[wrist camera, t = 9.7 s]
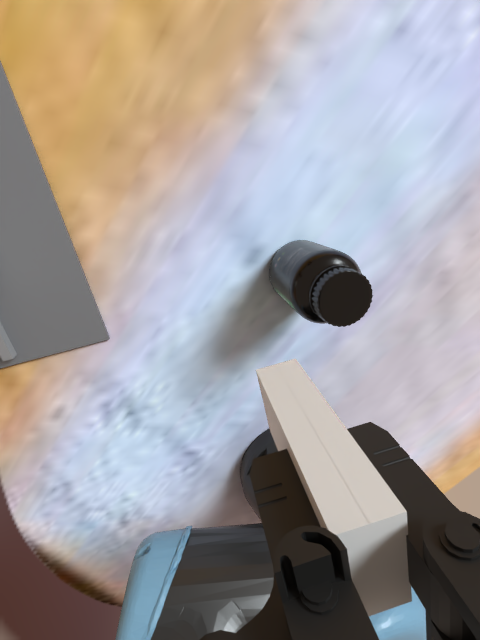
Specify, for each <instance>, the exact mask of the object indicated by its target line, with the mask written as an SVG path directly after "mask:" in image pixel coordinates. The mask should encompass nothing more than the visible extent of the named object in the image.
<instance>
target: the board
mask: <svg viewBox="0 0 480 640" xmlns="http://www.w3.org/2000/svg"><path fill="white" fill-rule="evenodd" d="M109 338H110V337H109V335H108V332H107V330H106V327H105V325H104V322H103V320H102V317H101V315H100V312H99V310H98V307H97V304H96V302H95V299H94V297H93V294H92V292H91V289H90V287H89V284H88V282H87V279H86V277H85V274H84V272H83V269H82V267H81V264H80V261H79V259H78V256H77V254H76V251H75V249H74V246H73V244H72V241H71V239H70V236H69V234H68V231H67V229H66V226H65V223H64V221H63V218H62V216H61V213H60V211H59V208H58V206H57V203H56V201H55V198H54V196H53V193H52V191H51V188H50V186H49V183H48V180H47V178H46V175H45V173H44V170H43V168H42V165H41V163H40V160H39V158H38V155H37V153H36V150H35V148H34V145H33V142H32V140H31V137H30V135H29V132H28V130H27V127H26V125H25V122H24V120H23V117H22V115H21V112H20V110H19V107H18V105H17V102H16V99H15V97H14V94H13V92H12V89H11V87H10V84H9V82H8V79H7V77H6V74H5V72H4V69H3V67H2V64H1V61H0V368H4V367H7V366H11V365H15V364H19V363H22V362H26V361H30V360H34V359H37V358H41V357H45V356H49V355H52V354H56V353H60V352H64V351H67V350H71V349H75V348H79V347H82V346H86V345H90V344H94V343H97V342H101V341H105V340H109Z"/></svg>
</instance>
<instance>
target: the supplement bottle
mask: <svg viewBox="0 0 480 640" xmlns="http://www.w3.org/2000/svg"><path fill="white" fill-rule="evenodd" d="M269 274H270V281H271V284H272V286H273V288H274V289H275V291H276V292H277V293H278V294H279V295H280V296H281V297H282V298H283V299H284V300H285V301H286V302H287V303H288V304H289V305H290V306H291V307H292V308H293V309H294V310H295V311H296V312H297V313H299V314H300V315H301V316H302V317H303V318H305V319H307V320H309V321H311V322H314V323H320V324H324V323H328V324H332V325H333V326H338V327H340V326H344V327H345V326H347V325H351V324H353V323H355V322H356V321H358V320H360V318H361V317H363V316H364V314H365V313H366V312H367V311H368V308H369V307H370V303H371V302H372V289H371V285H370V284H369V280H367V279H366V277H365V276H364V275H362V274H361V271H360V269H359V267H358V265H357V263H356V262H355V261H354V260H353V259H352V258H351V257H350V256H348V255H347V254H345V253H343V252H340V251H338V250H335V249H332V248H329V247H326V246H323V245H320V244H317V243H314V242H310V241H306V240H297V241H293V242H290V243H288V244H286V245H284V246H283V247H282V248H281V249H279V250H278V252H277V253H276V254H275V256H274V257H273V259H272V262H271V265H270V271H269Z"/></svg>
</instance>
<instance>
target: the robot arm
mask: <svg viewBox="0 0 480 640" xmlns="http://www.w3.org/2000/svg"><path fill="white" fill-rule="evenodd" d="M256 372H257V377H258V381H259V385H260V390H261V394H262V398H263V402H264V407H265V411H266V415H267V420H268V424H269V428H270V429H268V430H267V431H265V432H264V433H263V434H261V435H260V436H259V437H258V438H257V439H256V440H255V441H254V442H253V443H252V444H251V445H250V447H249V448H248V450H247V451H246V453H245V455H244V457H243V460H242V463H241V469H240V476H241V482H242V486H243V490H244V494H245V496H246V499H247V501H248V502H249V504H250V505H251V507H252V508H253V510H254V511H255V513H256V514H257V515H258V517H259V518H260V520H261V521H262V523H259V524H247V525H235V526H222V527H210V528H194V529H192V526H187V527H186V528H185V529H179V530H172V531H164V532H157V533H154V534H151V535H149V536H148V537H147V538H145V539H144V540H143V542H142V543H141V544H140V546H139V548H138V550H137V552H136V554H135V557H134V560H133V563H132V567H131V571H130V575H129V579H128V583H127V587H126V592H125V596H124V601H123V605H122V610H121V615H120V620H119V624H118V629H117V635H116V640H480V519H479V518H477V517H474V516H472V515H470V514H467V513H466V512H461V511H459V510H458V509H457V508H456V507H455V506H454V505H453V504H452V503H451V502H450V501H449V500H448V499H447V498H446V496H445V495H444V494H443V493H442V492H441V491H440V490H439V489H438V487H437V486H436V485H435V484H434V483H433V482H432V481H431V480H430V479H429V477H428V476H427V475H426V474H425V473H424V472H423V471H422V470H421V468H420V467H419V466H418V465H417V464H416V463H415V462H414V461H413V459H410V457H409V455H408V454H407V453H406V452H405V451H404V449H403V448H402V447H400V446H399V444H398V443H397V442H396V440H395V439H394V438H393V437H392V436H391V435H390V434H389V433H388V431H386V430H384V429H382V428H381V427H379V426H377V425H375V424H373V423H371V422H369V423H365V424H362V425H359V426H356V427H352V428H349V429H346V427H345V426H344V424H343V423H342V422H341V420H340V419H339V418H338V416H337V415H336V413H335V412H334V411H333V409H332V408H331V407H330V405H329V404H328V402H327V401H326V400H325V398H324V397H323V396H322V394H321V393H320V391H319V390H318V389H317V387H316V386H315V385H314V383H313V382H312V380H311V379H310V378H309V376H308V375H307V374H306V372H305V371H304V369H303V368H302V367H301V365H300V364H299V363H298V361H297V360H296V359H292V360H289V361H285V362H282V363H278V364H275V365H271V366H268V367H264V368H261V369H257V370H256Z"/></svg>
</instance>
